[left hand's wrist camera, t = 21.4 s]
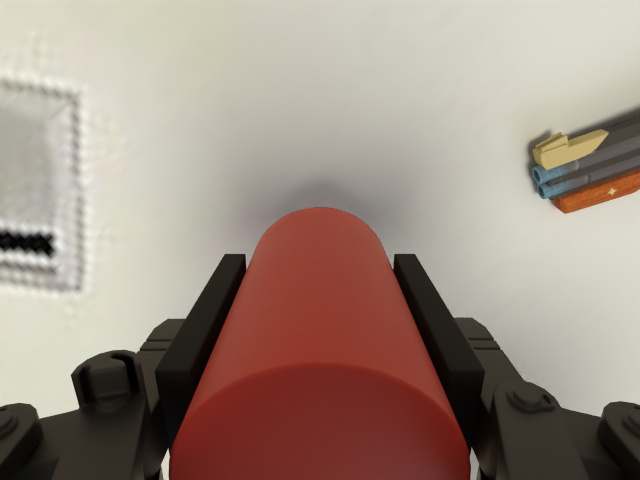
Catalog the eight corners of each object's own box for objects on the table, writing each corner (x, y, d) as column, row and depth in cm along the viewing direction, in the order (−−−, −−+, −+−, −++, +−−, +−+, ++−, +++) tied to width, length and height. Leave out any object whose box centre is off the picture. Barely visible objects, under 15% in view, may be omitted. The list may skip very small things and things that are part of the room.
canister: (334, 350, 17) (349, 616, 8) (227, 286, 16) (114, 514, 7) (415, 257, 16) (537, 463, 7) (302, 178, 14) (276, 303, 6)
